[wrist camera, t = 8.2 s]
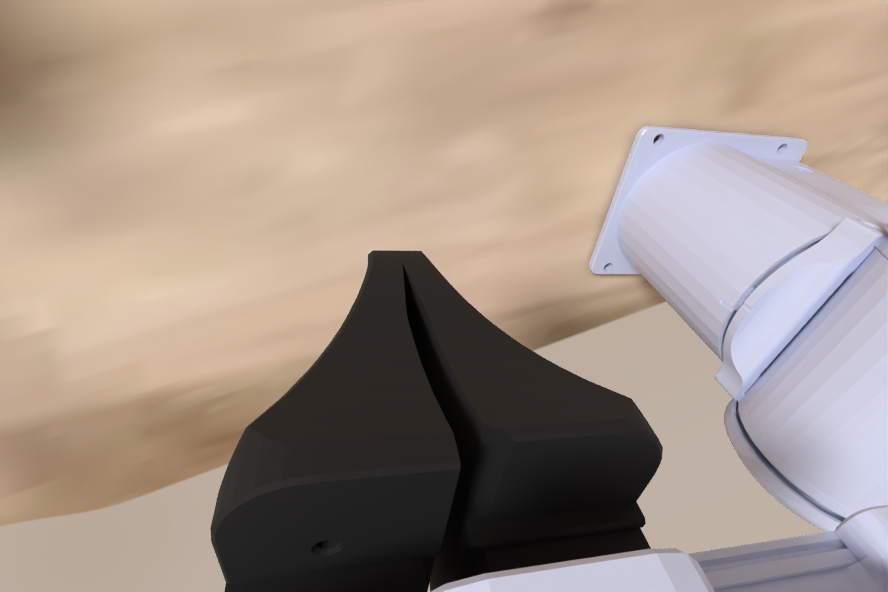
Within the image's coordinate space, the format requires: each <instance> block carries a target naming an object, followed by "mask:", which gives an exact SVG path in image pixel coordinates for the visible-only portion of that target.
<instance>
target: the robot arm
mask: <svg viewBox="0 0 888 592" xmlns="http://www.w3.org/2000/svg"><path fill="white" fill-rule="evenodd" d="M658 134H660V135H659V138H658V140H657V141H656V142H653V141H654V138H655V137H656V136H657V135H658ZM780 146H781V147H780ZM807 146H808V143H807V141H806V140H803V139H801V138H795V137H783V136H770V135H758V134H746V133H733V132H721V131H709V130H696V129H684V128H672V127H660V126H645V127H643V128H641V129H640V130H639V131H638V133H637V135H636V137H635V140H634V142H633V145H632V148H631V150H630V153H629V156H628V159H627V161H626V164H625V167H624V170H623V172H622V175H621V178H620V181H619V183H618V186H617V189H616V192H615V194H614V197H613V200H612V203H611V205H610V208H609V211H608V213H607V216H606V219H605V222H604V224H603V227H602V230H601V233H600V235H599V238H598V241H597V244H596V246H595V249H594V252H593V255H592V257H591V260H590V263H589V269H590V270H591V272H592V273H594V274H641V275H642V276H643V277H644V278H645V279H646V280H647V281H648V282H649V283H650V284H651V285H652V286H653V287H654V288H655V290H656V291H657V292H658V293H659V294H660V295H661V296H662V297H663V298H664V299H665V300H666V301H667V302H668V304H669V305H670V306H671V307H672V308H673V309H674V310H675V311H676V312H677V313H678V314H679V315H680V316H681V317H682V319H684V321H685V322H686V323H687V324H688V325H689V326H690V327H691V328H692V329H693V330H694V331H695V333H696V334H697V335H698V336H699V337H700V338H701V339H702V340H703V341H704V342H705V343H706V344H707V345H708V346H709V348H710V349H711V350H712V351H713V352H714V353H715V354H716V355H717V356H718V357H719V358H720V359H721V360H722V361H723V363H722V366H721V368H720V370H719V371H718V373H717V374H716V376H715V379H716V380H717V381H718V382H719V383H720V384H721V386H723V388H724V389H725V390H726V391H727V392H728V393H729V395H730V396H731V397H732V398H733V400H731V401H730V403H729V404H728V405H727V407H726V410H725V414H724V423H725V427H726V430H727V434H728V436H729V438H730V441H731V443H732V445H733V447H734V448H735V450H736V452H737V454H738V456H739V457H740V459H741V461H742V462H743V464H744V465H745V467H746V468H747V469H748V471H749V472H750V473H751V474H752V476H753V477H754V478H755V479H756V480H757V481H758V482H759V483H760V485H762V487H763V488H764V489H766V490H767V492H768V493H770V494H771V495H772V496H773V497H774V498H775V499H776V500H777V501H779V502H780V503H781V504H782V505H784V506H785V507H786V508H788V509H789V510H790V511H792V512H793V513H794V514H796V515H798V516H799V517H800V518H802V519H804V520H805V521H807V522H808V523H810V524H812V525H814V526H816V527H818V528H820V529H822V530H824V531H826V532H825V533H818V534H812V535H805V536H799V537H793V538H786V539H780V540H773V541H767V542H761V543H754V544H748V545H741V546H735V547H729V548H722V549H716V550H710V551H703V552H697V553H690V554H687V553H685V552H682V551H680V550H678V549H651V548H650V546H649V544H648V542H647V540H646V538H645V536H644V535H643V533H642V531H641V529H640V527H643V526H644V525H645V517H644V515H643V513H642V512H641V510H640V508H639V506H638V504H637V502H636V501H637V499H638V498H639V497H640V495H641V494H642V492H643V491H644V489H645V488H646V486H647V485H648V483H649V482H650V480H651V479H652V477H653V476H654V475H655V473H656V471H657V468H658V467H659V465H660V462H661V460H662V449H663V448H662V445H661V443H660V441H659V439H658V438H657V436H656V435H655V433H654V431H653V430H652V428H651V427H650V425H649V424H648V422H647V420H646V419H645V417H644V416H643V414H642V413H641V412H640V410H639V409H638V407H637V406H636V405H635V403H634V402H633V400H632V399H631V398H628V397H626V396H624V395H621V394H619V393H616V392H614V391H611V390H609V389H607V388H604V387H602V386H599V385H597V384H595V383H592V382H589V381H588V380H585V379H583V378H581V377H579V376H577V375H575V374H573V373H571V372H569V371H567V370H565V369H563V368H561V367H559V366H557V365H556V364H554V363H552V362H550V361H548V360H546V359H545V358H543V357H541V356H539V355H538V354H536V353H535V352H533V351H532V350H530V349H528V348H527V347H525V346H523V345H522V344H520V343H519V342H517V341H516V340H514V339H513V338H511V337H510V336H509V335H507V334H506V333H505V332H503V331H502V330H501V329H499V328H498V327H497V326H495V325H494V324H493V323H491V322H490V321H489V320H488V319H486V318H485V317H484V316H483V315H482V314H481V313H479V312H478V311H477V310H476V309H475V308H474V307H473V306H472V305H471V304H469V303H468V302H467V301H466V300H465V299H464V298H463V297H462V296H461V295H460V294H459V293H458V292H457V291H456V290H455V289H454V288H453V287H452V285H451V284H450V283H449V282H448V281H447V280H446V279H445V278H444V277H443V276H442V274H441V273H440V272H439V271H438V270H437V269H436V268H435V266H434V265H433V264H432V263H431V262H430V260H429V259H428V258H427V257H426V256H425V255H424V254H423V253H422V251H372V252H371V253H369V254H368V268H367V271H366V275H365V278H364V281H363V284H362V286H361V289H360V291H359V294H358V296H357V298H356V300H355V302H354V304H353V306H352V308H351V310H350V312H349V314H348V316H347V318H346V319H345V321H344V323H343V324H342V326H341V328H340V329H339V331H338V332H337V334H336V335H335V337H334V338H333V340H332V341H331V343H330V344H329V345H328V346H327V348H326V349H325V350H324V352H323V353H322V354H321V356H320V357H319V358H318V359H317V361H316V362H315V363H314V364H313V365H312V367H311V368H310V369H309V370H308V371H307V372H306V373H305V374H304V375H303V376H302V377H301V378H300V379H299V380H298V381H297V382H296V383H295V384H294V385H293V386H292V388H291V389H290V390H289V391H288V392H287V393H286V394H285V395H284V396H282V397H281V398H280V399H279V400H278V401H277V402H276V403H275V404H273V405H272V406H271V407H270V408H269V409H268V410H266V411H265V412H264V413H263V414H262V415H260V416H259V417H258V418H257V419H256V420H255V421H253V422H252V423H251V424H250V425H248V426H247V427H246V429H245V431H244V433H243V435H242V437H241V439H240V441H239V443H238V445H237V447H236V449H235V451H234V453H233V455H232V458H231V460H230V462H229V465H228V467H227V470H226V472H225V475H224V478H223V481H222V484H221V487H220V490H219V493H218V498H217V502H216V507H215V511H214V516H213V520H212V525H211V541H212V544H213V547H214V550H215V553H216V555H217V558H218V561H219V564H220V567H221V569H222V572H223V575H224V578H225V581H226V587H225V592H427V590H428V586H429V582H430V592H888V203H887V202H885V201H883V200H880V199H878V198H876V197H874V196H872V195H870V194H867V193H865V192H863V191H861V190H859V189H857V188H854V187H852V186H850V185H848V184H846V183H844V182H841V181H839V180H837V179H835V178H833V177H831V176H829V175H826V174H824V173H822V172H820V171H818V170H816V169H813V168H811V167H809V166H807V165H805V164H803V163H800V162H799V161H800V160H801V158H802V156H803V155H804V153H805V151H806V149H807ZM779 147H780V148H779ZM778 148H779V149H778ZM606 264H609V265H608V266H606V267H604V266H605V265H606Z"/></svg>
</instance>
